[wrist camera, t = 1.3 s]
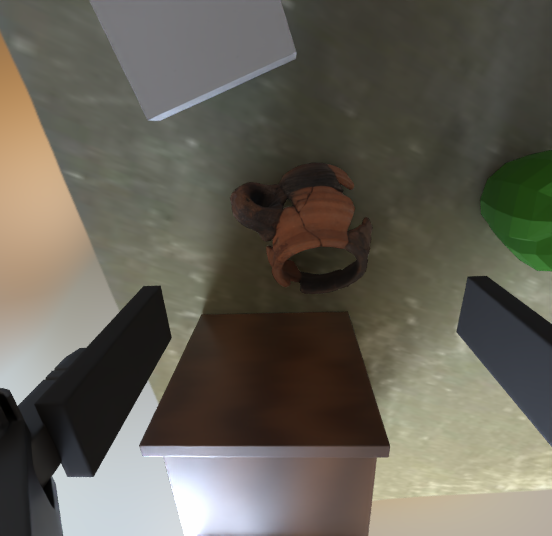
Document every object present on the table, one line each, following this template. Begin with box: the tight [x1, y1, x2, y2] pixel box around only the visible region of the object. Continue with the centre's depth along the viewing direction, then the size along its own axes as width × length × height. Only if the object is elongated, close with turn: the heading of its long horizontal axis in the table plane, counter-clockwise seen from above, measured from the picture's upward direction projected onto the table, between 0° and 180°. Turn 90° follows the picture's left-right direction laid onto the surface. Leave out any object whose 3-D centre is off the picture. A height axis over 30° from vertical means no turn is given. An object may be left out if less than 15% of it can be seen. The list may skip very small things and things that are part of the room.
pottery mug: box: [230, 163, 373, 294], centre depth 26 cm, size 12×10×8 cm
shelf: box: [139, 312, 390, 536], centre depth 29 cm, size 15×18×15 cm
